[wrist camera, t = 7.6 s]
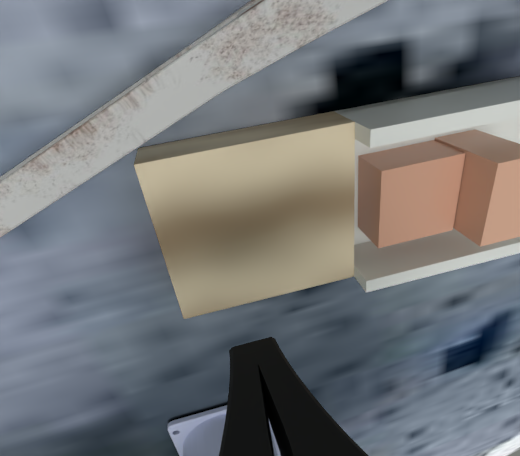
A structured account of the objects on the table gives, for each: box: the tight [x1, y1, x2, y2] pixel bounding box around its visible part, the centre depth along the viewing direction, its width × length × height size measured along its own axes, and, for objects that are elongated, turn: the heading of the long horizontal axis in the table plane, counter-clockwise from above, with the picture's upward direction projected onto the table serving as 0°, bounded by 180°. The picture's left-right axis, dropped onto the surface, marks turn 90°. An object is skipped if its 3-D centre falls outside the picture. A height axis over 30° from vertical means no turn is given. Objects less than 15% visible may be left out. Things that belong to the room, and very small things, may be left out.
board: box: [134, 111, 355, 319], centre depth 19 cm, size 9×10×2 cm
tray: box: [334, 76, 520, 292], centre depth 20 cm, size 9×13×4 cm
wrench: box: [0, 0, 388, 237], centre depth 14 cm, size 8×2×30 cm
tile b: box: [358, 140, 466, 248], centre depth 20 cm, size 4×4×2 cm
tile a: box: [435, 129, 520, 247], centre depth 19 cm, size 4×4×2 cm
